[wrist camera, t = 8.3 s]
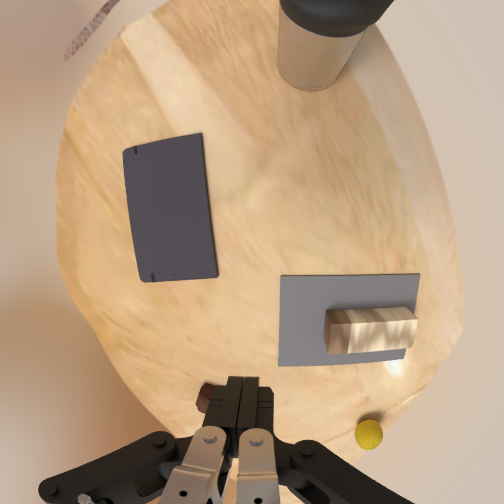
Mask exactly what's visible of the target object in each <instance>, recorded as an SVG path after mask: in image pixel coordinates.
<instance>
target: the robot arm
mask: <svg viewBox="0 0 504 504" xmlns="http://www.w3.org/2000/svg"><path fill="white" fill-rule="evenodd" d="M393 1H394V0H279V34H278V58H277V65H278V70H279V72H280V74H281V76H282V77H283V78H284V80H285V81H286V82H287V83H289V84H290V85H291V86H293V87H295V88H297V89H301V90H304V91H319V90H323V89H325V88H327V87H329V86H330V85H331V84H332V83H333V82H334V81H335V80H336V78H337V76H338V75H339V73H340V71H341V70H342V68H343V67H344V65H345V63H346V62H347V60H348V58H349V57H350V55H351V54H352V52H353V50H354V49H355V47H356V45H357V44H358V42H359V40H360V39H361V37H362V35H363V34H364V32H365V31H366V29H367V27H368V26H370V25H372V24H374V23H375V22H377V21H378V20H379V19H380V17H381V16H382V15H383V13H384V12H385V11H386V9H387V8H388V7H389V6H390V5H391V3H392V2H393ZM273 414H274V393H273V392H272V390H271V388H270V387H259V377H240V376H229V377H228V381H227V385H226V386H221V385H218V386H217V387H216V388H215V389H214V390H213V391H212V393H211V397H210V400H209V404H208V407H207V411H206V414H205V418H204V421H203V425H202V428H200V429H198V430H197V431H196V432H195V434H194V435H193V436H190V437H186V438H177V439H175V438H174V437H173V435H171V434H170V433H168V432H164V431H157V432H153V433H151V434H149V435H147V436H145V437H143V438H141V439H139V440H137V441H135V442H133V443H131V444H129V445H127V446H125V447H122V448H120V449H118V450H116V451H114V452H112V453H110V454H107V455H105V456H103V457H100V458H98V459H96V460H94V461H91V462H89V463H86V464H84V465H82V466H79V467H77V468H74V469H72V470H69V471H67V472H64V473H61V474H58V475H56V476H53V477H50V478H47V479H45V480H43V481H42V482H41V483H40V485H39V488H38V491H39V495H40V497H41V498H42V499H43V500H44V501H45V502H46V503H47V504H146V503H148V502H150V501H152V500H153V499H155V498H157V497H159V496H161V497H160V500H159V502H158V504H223V500H224V496H225V492H226V488H227V485H228V481H229V477H230V473H231V466H232V459H233V458H238V457H239V472H238V475H237V501H236V504H280V496H279V485H283V486H287V488H288V489H289V490H290V491H291V492H292V493H293V494H294V495H295V496H296V497H298V498H299V499H300V500H301V501H302V502H303V503H305V504H414V503H412V502H411V501H409V500H407V499H405V498H403V497H402V496H400V495H398V494H396V493H395V492H393V491H391V490H389V489H388V488H386V487H385V486H383V485H381V484H380V483H378V482H376V481H375V480H373V479H371V478H370V477H368V476H367V475H365V474H363V473H362V472H360V471H359V470H358V469H356V468H355V467H353V466H352V465H350V464H349V463H347V462H346V461H344V460H343V459H341V458H340V457H338V456H337V455H336V454H334V453H333V452H331V451H330V450H329V449H327V448H326V447H324V446H323V445H322V444H320V443H319V442H317V441H314V440H302V441H299V442H297V443H296V444H289V443H286V442H283V441H281V440H279V439H278V438H277V437H276V436H275V434H274V432H273ZM278 484H279V485H278Z"/></svg>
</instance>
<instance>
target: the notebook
mask: <svg viewBox="0 0 504 504" xmlns="http://www.w3.org/2000/svg"><path fill="white" fill-rule="evenodd" d="M123 166H124V177H125V186H126V195H127V203H128V211H129V218H130V225H131V232H132V238H133V244H134V250H135V255H136V261H137V266H138V271H139V276H140V280H141V281H142V282H162V281H178V280H193V279H207V278H217V277H218V269H217V262H216V255H215V247H214V240H213V232H212V224H211V216H210V207H209V199H208V190H207V181H206V172H205V162H204V152H203V142H202V134H200V133H198V134H193V135H187V136H182V137H176V138H171V139H166V140H162V141H157V142H152V143H148V144H144V145H139V146H135V147H131V148H127V149H125V150H124V151H123Z"/></svg>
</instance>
